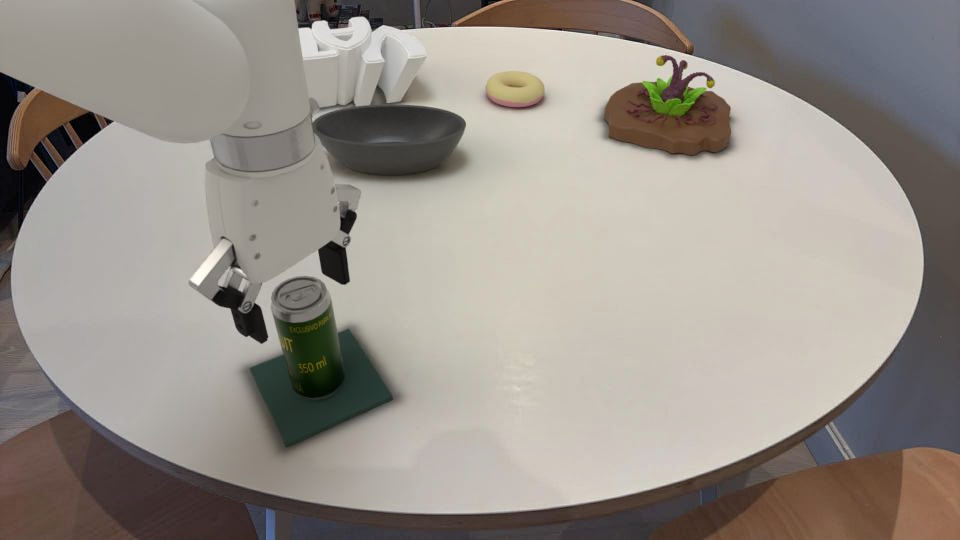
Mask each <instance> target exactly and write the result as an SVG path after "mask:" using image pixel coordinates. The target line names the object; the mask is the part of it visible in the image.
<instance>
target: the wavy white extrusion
mask: <svg viewBox="0 0 960 540" xmlns="http://www.w3.org/2000/svg"><path fill="white" fill-rule="evenodd" d="M371 27H372V26H371V24H370V22H369V20H368V19H367V18H366V17H365V16H354V17H351V18H350V19H348V26H347V27H341V28H330V26H329V22H328V21H326V20H317V21H313V22H312V24H311V28H310V27H298V29H299V36H300V43H301V50H302V57H303V63H304V70H305V77H306V84H307V90H308V97H309V98H313V99H315V100H316V101H317V103H318V105H319V109H321V108H327V107H334V106H337V105H341V106H346V105H348V104H349V103H351V102H353V103H354V106H355V107H356V106H366V105H372V104H371V103H372V101H373V97H374V95H375V92H376V89H377V86H378V87H379V88H380V89H381V91H382V92H383V94H384V96H385V100H386V104H395V103H400V102H401V101H402V100H403V98H404V96H405V94H406V92H407V91H408V90H409V88H410V86H411V84H412V82H413V81H414V79H415V78H416V77H417V74H418V73H419V71H420V69H421V67H422V66H423V64H424V62H425V61H426V59H427V57H428V52H427V49H426V47H425V46H424V44H423V43H422V42H421V41H420V39H418V38H416V37H415V36H414V35H412V34H410V33H409V32H406V31H404V30H402V29H399V28H396V27H393V26H390V25H389V26H388V25H384V24H383V25H381V26H379V27H377V28H376V29H375V30H373V29H372V28H371Z"/></svg>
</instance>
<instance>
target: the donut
mask: <svg viewBox="0 0 960 540" xmlns="http://www.w3.org/2000/svg"><path fill="white" fill-rule="evenodd" d="M545 92H546V89H545V84H544V82H543V81H542V80H541V79H540V78H539V77H537V76H536V75H534V74H531V73H528V72H524V71H519V70H518V71H517V70H509V71H501V72H498V73H496V74H494V75H492V76H491V77H489V79H488V80H487V82H486V84H485V94H486V95H487V97H488V98H489V99H490V100H491V101H492V102H494V103H495V104H498V105H500V106H502V107H503V106H504V107H508V108H525V107H531V106H533V105H535V104H537V103H539V102H540V101H541V100H542V99H543V97H544V96H545Z"/></svg>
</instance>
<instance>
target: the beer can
mask: <svg viewBox="0 0 960 540" xmlns="http://www.w3.org/2000/svg"><path fill="white" fill-rule="evenodd" d="M270 299H271V303H270V311H271V314H272V317H273V321H274V325H275V330H276V332H277V336H278V340H279V344H280V347H281V352H282V355H283V356H284V360H285V363H286V367H287V371H288V375H289V378H290V382H291V385H292V388H293V390H294V391H295V392H296V393H297V394H298V395H300V396H301V397H303V398H305V399H308V400H322V399H325V398H328V397H330V396H332V395H333V394H335V393H336V392H337V391H338V390H339V389H340V387H341V385H342V383H343V380H344V378H345V369H344V364H343V359H342V353H341V348H340V343H339V337H338V333H339V332H338V327H337V321H336V316H335V311H334V305H333V300H332V296H331V294H330V291H329V290H328V288H327V286H326V284H325V283H324V281H322V280H321V279H320V278H318V277H314V276H310V275H300V276H298V275H297V276H293V277H290V278H287V279H285V280H283V281H282V282H280V283H279V284H278V285H276V286H275V287H274V289H273V291H272V292H271V297H270Z"/></svg>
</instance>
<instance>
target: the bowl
mask: <svg viewBox="0 0 960 540" xmlns="http://www.w3.org/2000/svg"><path fill="white" fill-rule="evenodd" d="M312 122H313V129H314V134H316V135H317V136H318V137H319V139H320V141H321V143H322V146H323V148H324V150H325V151H327V152H328V153H329V155H331V157H332V158H334V159H335V160H336V161H338V162H339V163H341V164H342V165H344V166H345V167H346V168H349V169H350V170H353V171H355V172H359V173H363V174H369V175H379V176H404V175H412V174H419V173H424V172H428V171H431V170H433V169H436V168H437V167H438V166H440V165H441V164H442V163H444V161H446V160H447V159H448V158H449V157H450V156H451V155H452V154H453V152H455V150H456V148H457V147H458V145H459V143H460V141H461V140H462V137H463V135H464V133H465V130H466V128H467V127H466V126H467V122H466V120H465V118H463V117H462V116H461V115H459V114H458V113H455V112H453V111H450V110H447V109H442V108H438V107H432V106H425V105H418V104H417V105H416V104H397V103H396V104H395V103H386V104H370V105H366V106H356V105H355V106H350V107H345V108H339V109H336V110H335V109H334V110H332V111H329V112H326V113H324V114H322V115H320V116H318V117H317V118H315V119H314V120H313V121H312Z"/></svg>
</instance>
